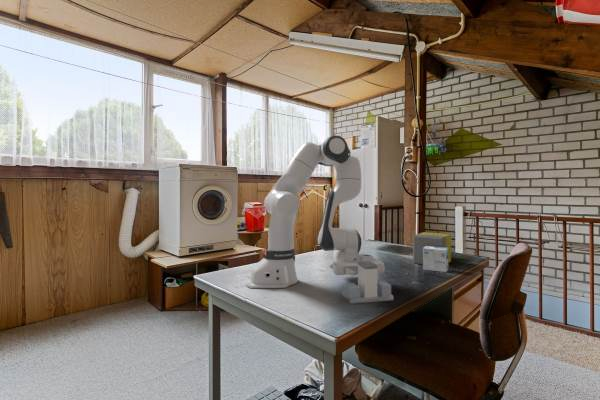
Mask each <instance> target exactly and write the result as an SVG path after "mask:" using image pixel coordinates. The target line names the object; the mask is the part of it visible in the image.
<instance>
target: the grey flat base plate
mask: <svg viewBox="0 0 600 400" xmlns="http://www.w3.org/2000/svg"><path fill="white" fill-rule="evenodd" d="M342 296H343V297H344V298H345V300H347V302H348V303H350V304H351V305H352V304H364V303H374V302H375V303H377V302H387V301H394V295H393V294H391V295H383V296H382V295H381V294H379V293H378V292H377V297H364V296H363V295H362V294H361V293H360V297H359V298H350V297H349V296H348V295H347V294H346V293H345V290H344V291H343V292H342Z"/></svg>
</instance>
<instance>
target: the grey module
mask: <svg viewBox="0 0 600 400" xmlns="http://www.w3.org/2000/svg"><path fill="white" fill-rule="evenodd" d="M377 269H378V266H377V265H375V264H373V263H372V262H370V261H365V262H358V274H357V286H358V287H360V293H361V294H362V295H363V296H364V297H377V281H378V274H377Z"/></svg>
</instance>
